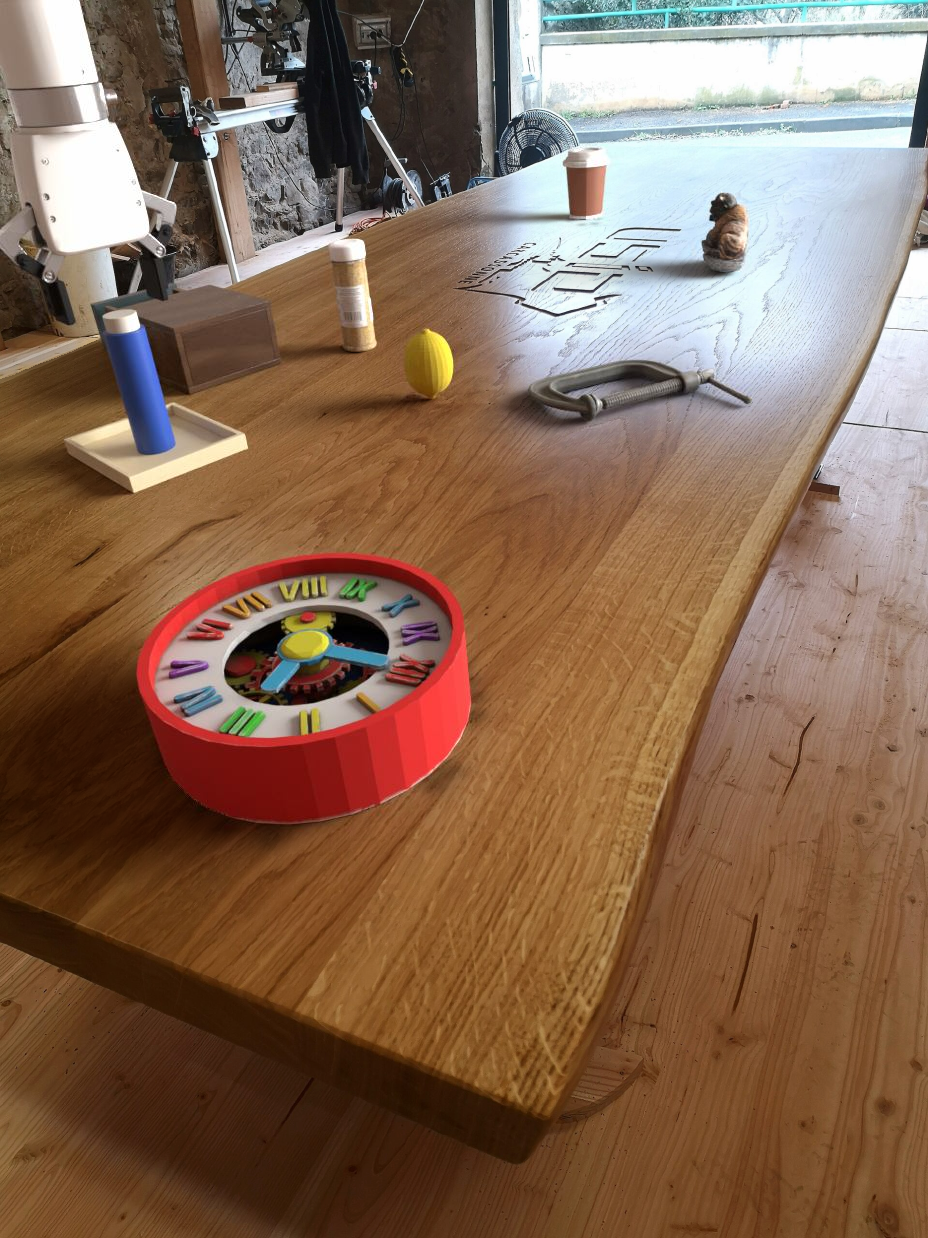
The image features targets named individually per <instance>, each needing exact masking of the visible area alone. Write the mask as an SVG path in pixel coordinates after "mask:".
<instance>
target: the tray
mask: <svg viewBox="0 0 928 1238" xmlns="http://www.w3.org/2000/svg"><path fill="white" fill-rule="evenodd" d="M165 405H166V409H167V412H168V416H169V420H170V424H171V427H172V431H173V435H174V438H175V442H176V445H175V446H174V447H173V448H172V449H170V450H168V451H166V452H163V453H159V454H153V455H145V454H141V453H139V452H138V451H137V448H136V444H135V441H134V437H133V434H132V431H131V427H130V424H129V421H128V417H125V418H122V419H119V420H116V421H114V422H110V423H108V424H105V425H102V426H98V427H96V428H92V429H90V430H87V431H84V432H80V433H79V434H75V435H73V436H69V437H67V438H63V442H64V445H65V448H66V451H67V454H68V455H70V456H71V457H73V458H74V459H76V460H78V461H80V462H81V463H83V464H85V465H86V466H88V467H90V468H91V469H92V470H95V471H96V472H98V473H99V474H101V475H103V476H104V477H106V478H108V479H109V480H111V481H113V482H114V483H116V484H118V485H119V486H121V487H123V489H126V490H128V492H129V491H130V492H131V493H133V494H135V493H138V492H140V491H143V490H146V489H149V488H151V487H153V486H157V485H159V484H161V483H164V482H165V481H169V480H171V479H174V478H176V477H179V476H182V475H184V474H187V473H189V472H191V471H194V470H196V469H200V468H202V467H204V466H207V465H209V464H212V463H215V462H217V461H221V460H222V459H225V458H227V457H230V456H233V455H236V454H238V453H240V452H243V451H246V450H248V449H249V447H248V441H247V438H246V434H245V433H244V432H242V431H240V430H237V429H235V428H233V427H230V426H228V425H226V424H224V423H221V422H219V421H217V420H214V419H212V418H210V417H208V416H205V415H204V414H202V413H199V412H197V411H194V410H192V409H190V408H188V407H186V406H183V405H182V404H181V405H180V404H178V403H176V402H174V401H173V402H170V403H167V404H166V403H165Z"/></svg>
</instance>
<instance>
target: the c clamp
mask: <svg viewBox="0 0 928 1238" xmlns="http://www.w3.org/2000/svg"><path fill="white" fill-rule="evenodd" d="M715 376H716V374H715V372H714V370H713V369H712V368H708V369H704V370H701V369H699V370H697V371H694V370H689V371H684V372H683V371H681V370H679V369H677V368H675V367H674V366H671V365H668V364H665V363H663V362H659V361H655V360H650V359H649V360H647V359H625V360H624V359H623V360H617V361H612V362H608V363H603V364H599V365H594V366H591V367H585V368H582V369H578V370H574V371H569V372H565V373H561V374H556V375H551V376H548V377H544V378H541V379H539V380H536V381H534V382H533V383H531V384H530V385H529V386H528V389H527V394H528V396H529V398H531V400H533V401H535V402H537V403H538V404H541V405H543V406H546V407H549V408H552V409H555V410H559V411H565V412H566V411H567V412H571V413H579V415H580V416H581V418H582V419H583V420H584V421H587V422H590V421H593V420H595V418H596V416H597V415H598V414H599V413H601V412H602V410H603V411H608V410H610V409H611V410H612V409H615V408H620V407H623V406H627V405H630V404H634V403H638V402H642V401H645V400H649V399H653V398H656V397H660V396H664V395H668V394H672V393H676V392H677V393H678V394H686V393H687V394H688V393H690V392H695V391H697V390H698V388H699V387H700V386H702V385H707V384H710V385H712V386H713V387H715V388H717V389H719V390H721V391H722V392H724V393H727V394H728V395H730V396H732V397H734V398H736V399H738V400H740V401H742V402H743V403H744V404H745V405H750V404H751V403H752V402H753V397H752V396H750V395H746V394H745V393H742V392H741V391H738V390H736V389H735V388H733V387H731V386H729V385H727V384H725V383H723V382H722V381H719V380H718V379H715V378H716V377H715ZM627 378H634V379H635V378H637V379H644V380H648V381H650V382H651V381H652V382H654V383H653V384H649V385H645V386H641V387H638V388H634V389H631V390H626V391H623V392H618V393H614V394H611V395H607V396H604V397H601V398H600V399H598V398H597V396H596V395H595V394H593V393H590V394H588V393H584V394H582V395H581V396H579V397H578V398H575V397H573V396H570V395H566V394H564V393H567V392H570V391H575V390H579V389H583V388H589V387H592V386H596V385H600V384H603V383H607V382H612V381H615V380H619V379H627Z"/></svg>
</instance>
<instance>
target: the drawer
mask: <svg viewBox="0 0 928 1238" xmlns="http://www.w3.org/2000/svg"><path fill="white" fill-rule="evenodd" d="M166 290H167V294H168V295H172V294H176V293H180V292H183V291H187V290H186V289H182V288H178V286H177V283H174V282H168V288H167V289H166ZM153 299H155V298H152V297H149V296H148V295H147V292H146V289H142V290H139V291H134V292H130V293H127V294H123V295H119V296H115V297H110V298H107V299H103V300H99V301H95V302H92V303H90V308H91V311H92V314H93V318H94V321H95V325H96V328H97V331H98V334H99V338H100V341H101V344H102V348H103V351H106V352H108V350H107V346H106V343H105V340H104V336H103V331H105V330H106V328H105V324H104V321H103V318H102V317H103V315H104V314H106V313H109V312H112V311H117V309H119V308H123V307H127V306H131V305H134V304H138V303H142V302H146V301H150V300H153Z"/></svg>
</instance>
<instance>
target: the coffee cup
mask: <svg viewBox="0 0 928 1238" xmlns="http://www.w3.org/2000/svg"><path fill="white" fill-rule="evenodd" d="M610 163H611V158H610V157H609V156H608V155H607V154H606V149H605V148H603V147H599V146H598V147H596V146H589V147H578V148H573V149H569V150H568V151H567V156H566V157H565V159H564V160H562V166H563V167H565V170H566V171H565V172H566V182H567V183H566V184H567V185H566V186H567V195H568V196H567V198H568V211H569V218H570V217H571V218H570V219H572V218H574V219H572V220H578V221H580V220H579V219H586V220H585V221H588V220H594V219H593V218H595V219H599V218H601V217H602V216H603V208H604V207H603V206H604V195H605V184H606V174H607V173H606V172H607V165H609V164H610ZM600 216H601V217H600ZM598 217H599V218H598Z"/></svg>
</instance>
